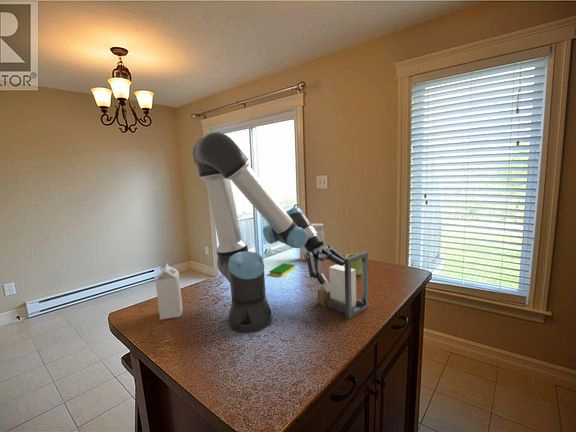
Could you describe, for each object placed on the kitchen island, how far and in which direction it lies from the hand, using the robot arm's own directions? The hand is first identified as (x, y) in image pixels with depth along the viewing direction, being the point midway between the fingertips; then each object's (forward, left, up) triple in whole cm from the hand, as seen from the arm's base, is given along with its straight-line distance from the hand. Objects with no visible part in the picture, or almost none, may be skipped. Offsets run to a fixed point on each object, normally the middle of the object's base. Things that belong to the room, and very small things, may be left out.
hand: (341, 285), depth 105 cm
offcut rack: (-1, -2, -8) cm, 8 cm away
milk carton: (-49, +42, -8) cm, 65 cm away
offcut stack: (-1, +6, -8) cm, 10 cm away
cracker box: (+34, +48, -8) cm, 59 cm away
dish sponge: (+9, +46, -9) cm, 48 cm away
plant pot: (+31, +16, -8) cm, 36 cm away
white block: (-1, -1, -8) cm, 8 cm away
